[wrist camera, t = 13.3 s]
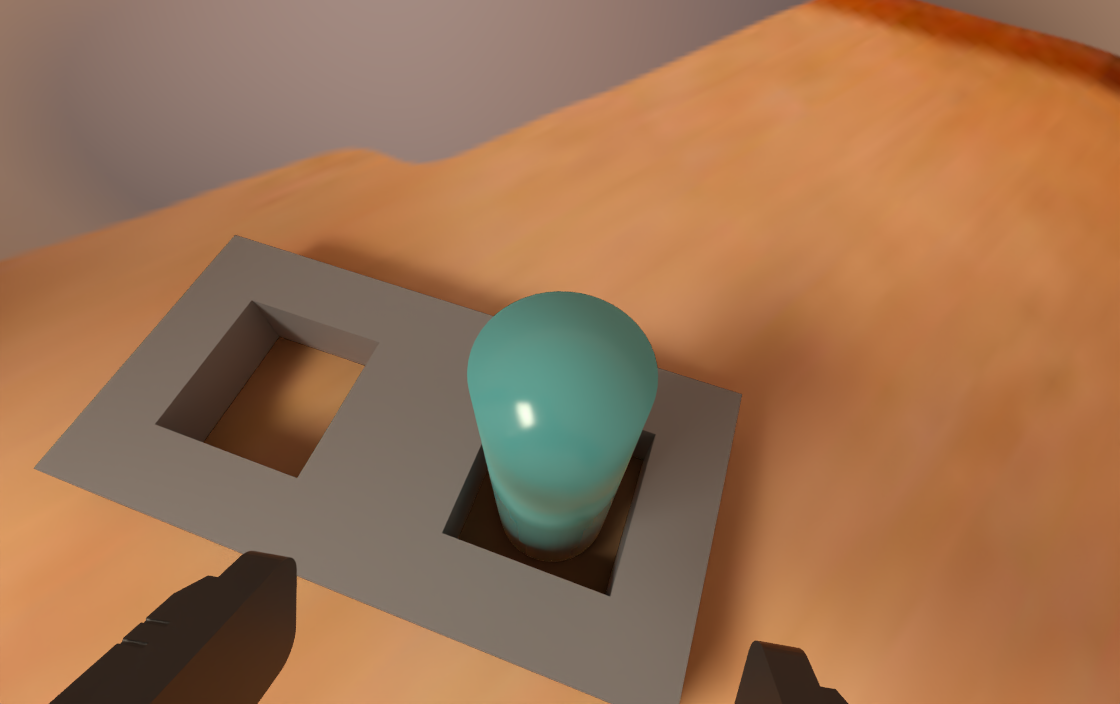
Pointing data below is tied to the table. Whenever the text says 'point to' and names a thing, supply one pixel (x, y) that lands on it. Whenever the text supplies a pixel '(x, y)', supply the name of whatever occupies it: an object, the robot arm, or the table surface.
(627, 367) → the teal round-top peg
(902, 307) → the table surface
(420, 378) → the rack
